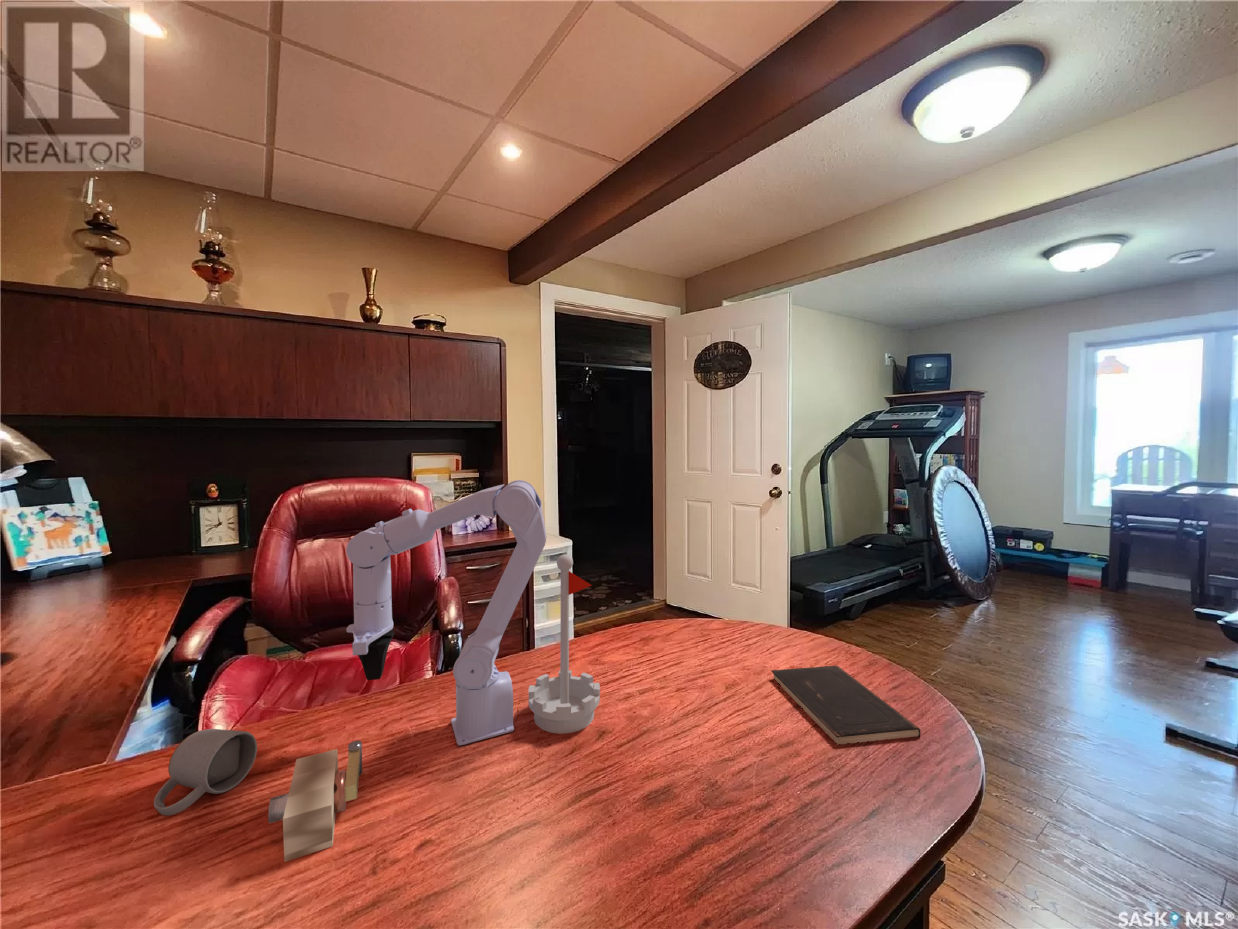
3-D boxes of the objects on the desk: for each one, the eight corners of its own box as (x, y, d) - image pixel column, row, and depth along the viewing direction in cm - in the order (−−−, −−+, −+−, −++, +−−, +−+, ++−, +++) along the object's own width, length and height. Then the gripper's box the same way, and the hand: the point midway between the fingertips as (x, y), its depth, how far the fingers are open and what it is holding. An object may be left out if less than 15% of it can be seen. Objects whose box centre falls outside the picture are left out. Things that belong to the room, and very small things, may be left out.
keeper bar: (358, 813, 66) (358, 781, 65) (343, 818, 65) (342, 785, 65) (362, 768, 75) (362, 739, 74) (349, 771, 74) (348, 742, 74)
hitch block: (338, 784, 71) (337, 749, 71) (332, 846, 60) (331, 804, 60) (297, 795, 69) (296, 759, 69) (284, 862, 58) (282, 819, 58)
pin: (346, 794, 68) (345, 762, 68) (344, 818, 64) (343, 784, 64) (274, 815, 65) (273, 781, 64) (267, 842, 60) (266, 805, 60)
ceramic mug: (217, 761, 76) (214, 714, 75) (259, 769, 74) (257, 721, 74) (137, 814, 66) (132, 760, 65) (184, 824, 64) (180, 769, 63)
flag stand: (515, 729, 85) (514, 560, 83) (547, 692, 97) (547, 544, 96) (584, 743, 81) (585, 567, 79) (609, 703, 94) (610, 549, 92)
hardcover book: (836, 749, 81) (836, 735, 81) (771, 680, 104) (771, 670, 104) (920, 740, 84) (921, 727, 84) (839, 675, 106) (839, 665, 106)
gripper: (361, 587, 88) (363, 660, 89) (330, 616, 74) (332, 703, 75) (402, 585, 89) (404, 657, 90) (379, 614, 75) (381, 698, 76)
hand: (374, 677), depth 83 cm, fingers closed
